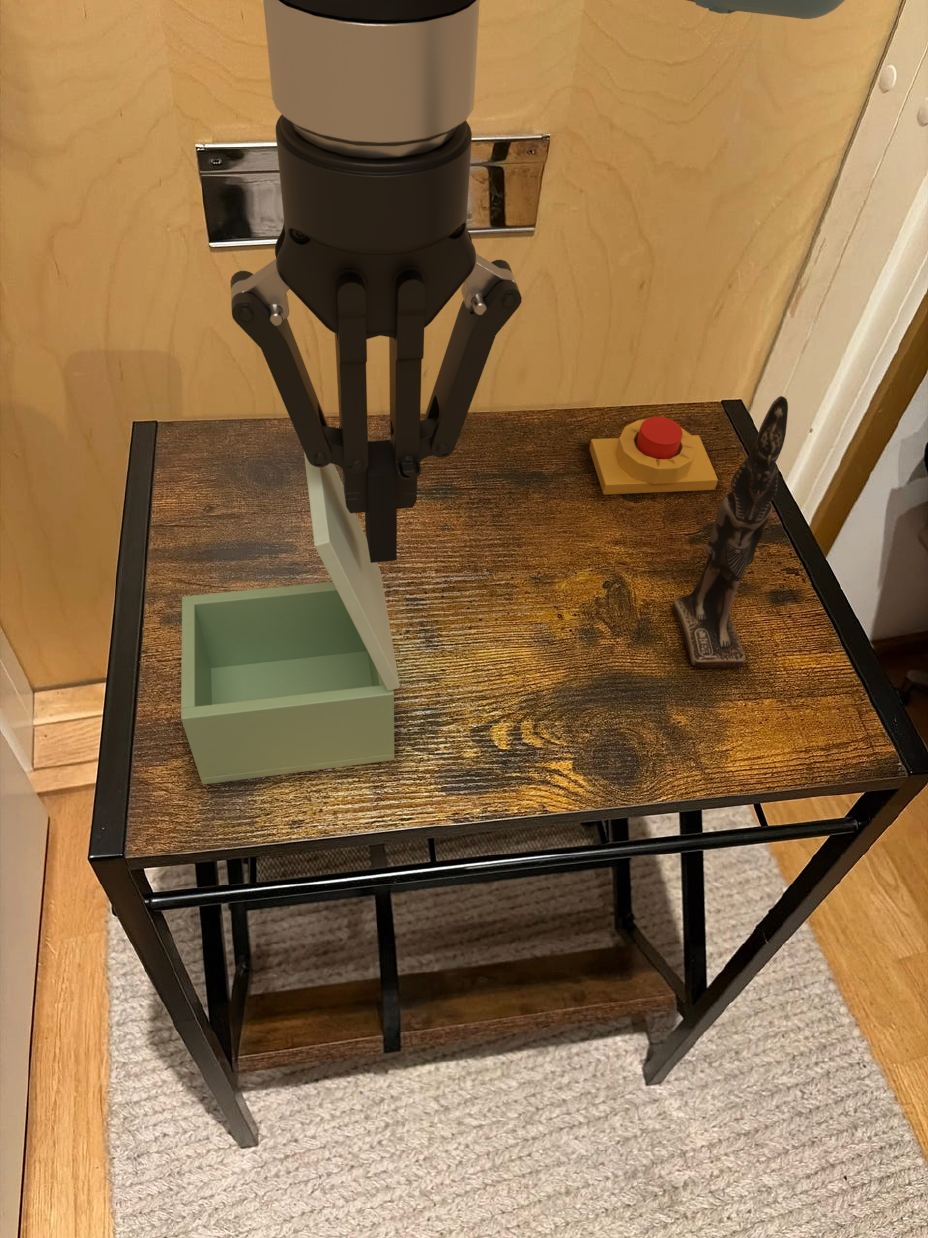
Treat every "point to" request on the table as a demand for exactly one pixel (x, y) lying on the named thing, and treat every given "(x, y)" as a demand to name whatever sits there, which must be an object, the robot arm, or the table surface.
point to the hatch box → (279, 685)
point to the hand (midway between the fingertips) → (380, 544)
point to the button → (659, 438)
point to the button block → (650, 465)
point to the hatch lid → (351, 567)
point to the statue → (733, 550)
